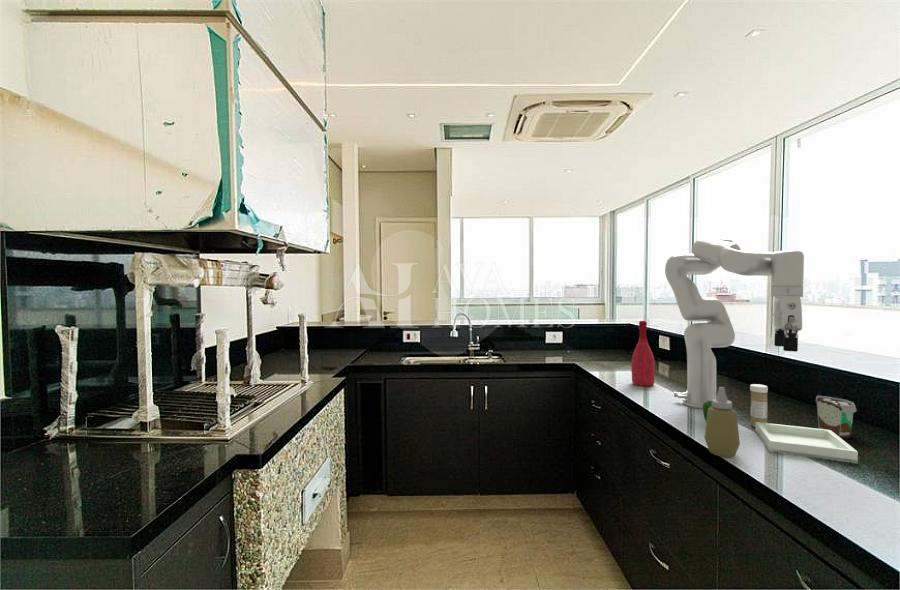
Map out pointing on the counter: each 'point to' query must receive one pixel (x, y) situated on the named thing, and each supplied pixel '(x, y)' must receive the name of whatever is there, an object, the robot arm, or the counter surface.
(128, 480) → the counter surface
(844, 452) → the tray
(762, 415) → the sprinkles bottle
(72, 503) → the counter surface
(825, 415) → the food container
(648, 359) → the wine bottle
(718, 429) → the squeeze bottle
